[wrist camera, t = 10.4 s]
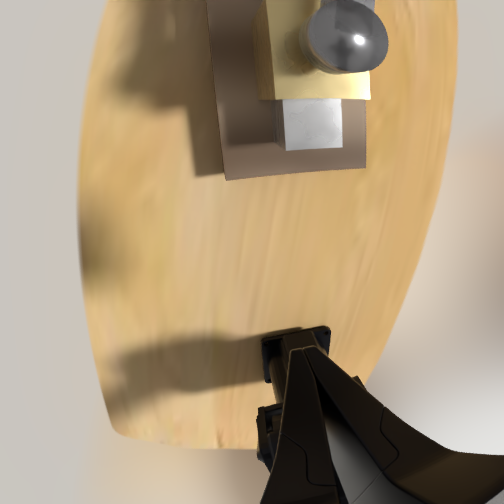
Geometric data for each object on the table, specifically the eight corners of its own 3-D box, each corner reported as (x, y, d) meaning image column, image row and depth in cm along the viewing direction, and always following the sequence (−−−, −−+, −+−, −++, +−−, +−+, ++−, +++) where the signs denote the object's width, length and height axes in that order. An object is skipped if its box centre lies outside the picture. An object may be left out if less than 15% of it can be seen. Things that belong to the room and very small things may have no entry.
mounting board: (353, 161, 20) (366, 168, 18) (224, 172, 19) (225, 180, 18) (339, -23, 13) (350, -32, 11) (204, -25, 13) (203, -37, 11)
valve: (333, 138, 17) (382, 158, 12) (262, 143, 17) (286, 164, 12) (320, -12, 12) (364, -46, 7) (246, -15, 12) (264, -59, 7)
